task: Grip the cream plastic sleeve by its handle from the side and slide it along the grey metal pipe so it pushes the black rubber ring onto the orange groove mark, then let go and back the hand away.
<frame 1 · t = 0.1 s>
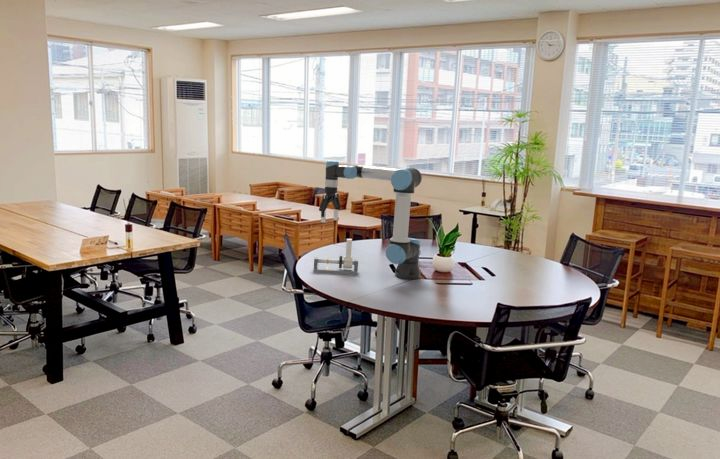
hand: (329, 221, 357), 28 cm above the table, tool pointing down, fingers open, 13 cm apart
ring: (340, 262, 348), point 6 cm above the table, slide at 0.0 cm
sleeve: (348, 253, 347), point 11 cm above the table, slide at 0.0 cm
pipe stand: (335, 271, 349), on the table
vase: (410, 262, 387), on the table
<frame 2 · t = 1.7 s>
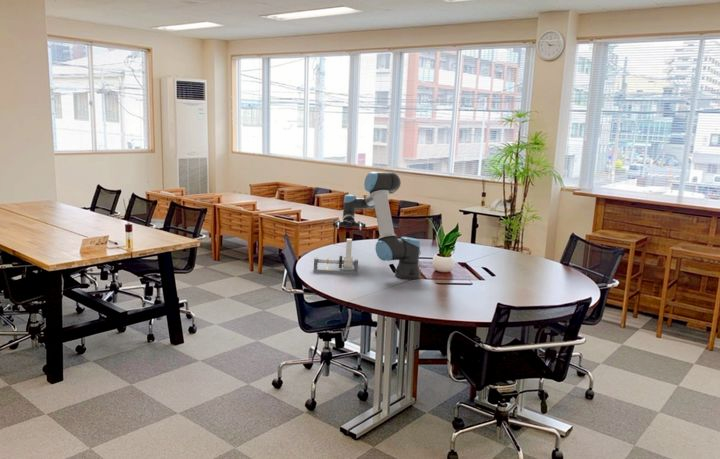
hand: (349, 227, 354), 25 cm above the table, tool horizontal, fingers open, 13 cm apart
nothing on the table moved.
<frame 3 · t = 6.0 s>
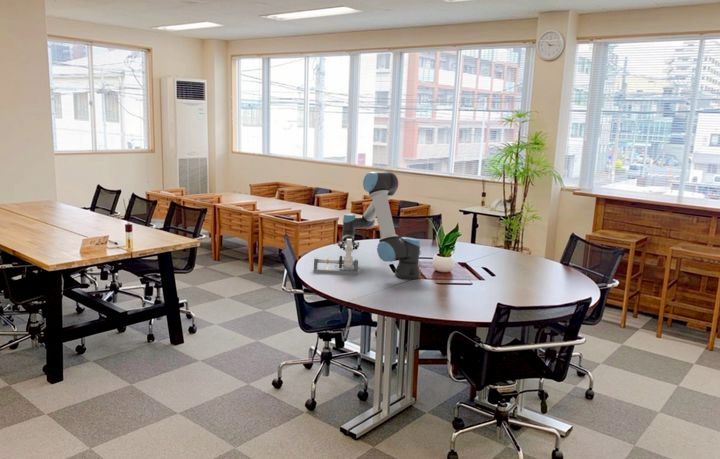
hand: (349, 249, 341), 15 cm above the table, tool horizontal, fingers closed on sleeve, 3 cm apart
sleeve: (348, 253, 347), point 11 cm above the table, slide at 0.0 cm, touching gripper
everything else where it was.
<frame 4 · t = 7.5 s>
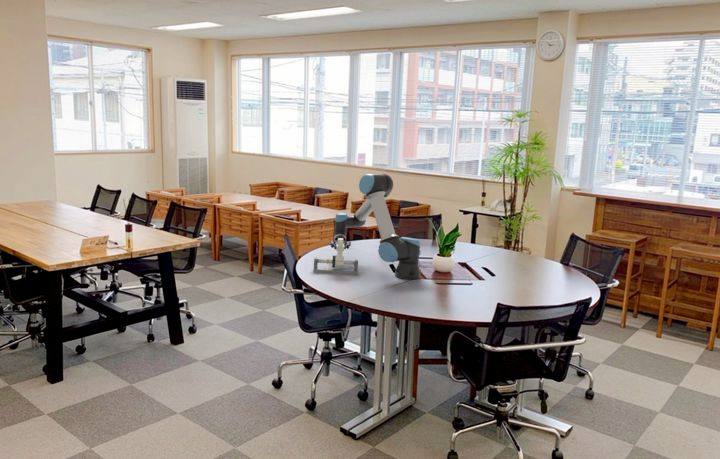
hand: (340, 248, 341), 15 cm above the table, tool horizontal, fingers closed on sleeve, 3 cm apart
ring: (333, 261, 348), point 6 cm above the table, slide at 4.1 cm, touching sleeve
sleeve: (339, 253, 347), point 11 cm above the table, slide at 5.1 cm, touching gripper, ring
everything else where it was.
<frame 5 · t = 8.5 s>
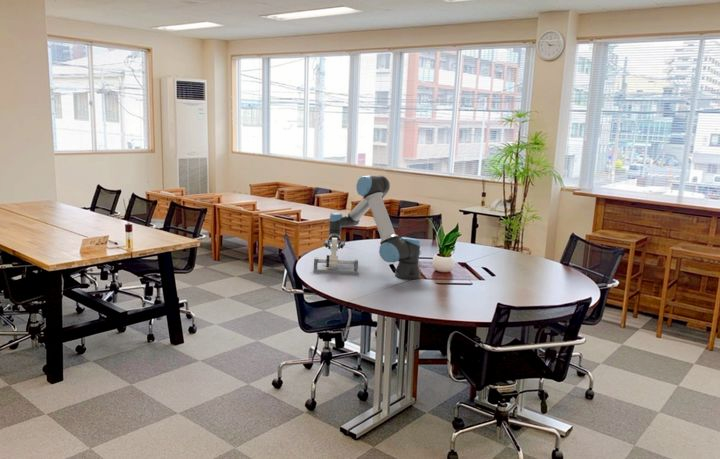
hand: (334, 248, 341), 15 cm above the table, tool horizontal, fingers closed on sleeve, 3 cm apart
ring: (327, 261, 348), point 6 cm above the table, slide at 7.6 cm, touching sleeve
sleeve: (333, 253, 347), point 11 cm above the table, slide at 8.6 cm, touching gripper, ring
everything else where it was.
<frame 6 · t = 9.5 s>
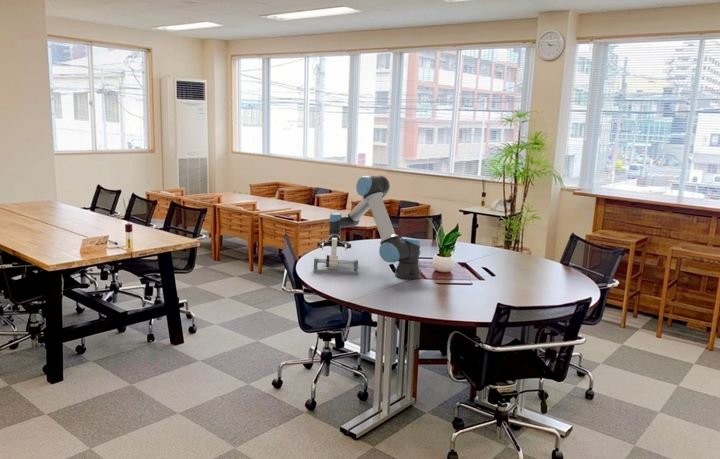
hand: (334, 248, 343), 15 cm above the table, tool horizontal, fingers open, 13 cm apart
ring: (327, 261, 348), point 6 cm above the table, slide at 7.7 cm
sleeve: (333, 253, 347), point 11 cm above the table, slide at 8.7 cm
everything else where it was.
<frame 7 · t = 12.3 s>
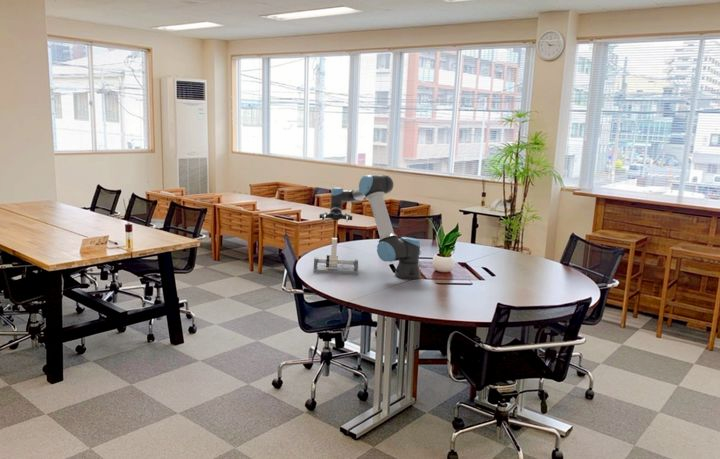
hand: (335, 219, 353), 30 cm above the table, tool horizontal, fingers open, 13 cm apart
nothing on the table moved.
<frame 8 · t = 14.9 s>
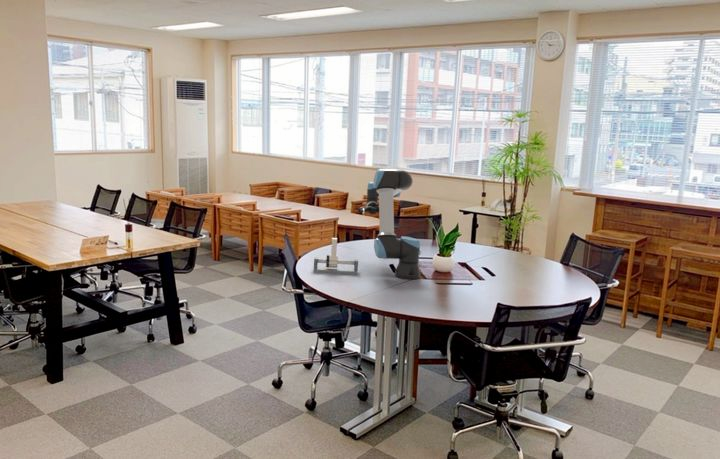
hand: (374, 212, 362), 34 cm above the table, tool horizontal, fingers open, 13 cm apart
nothing on the table moved.
at the end: ring slide at 7.7 cm; sleeve slide at 8.7 cm; the gripper is holding nothing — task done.
